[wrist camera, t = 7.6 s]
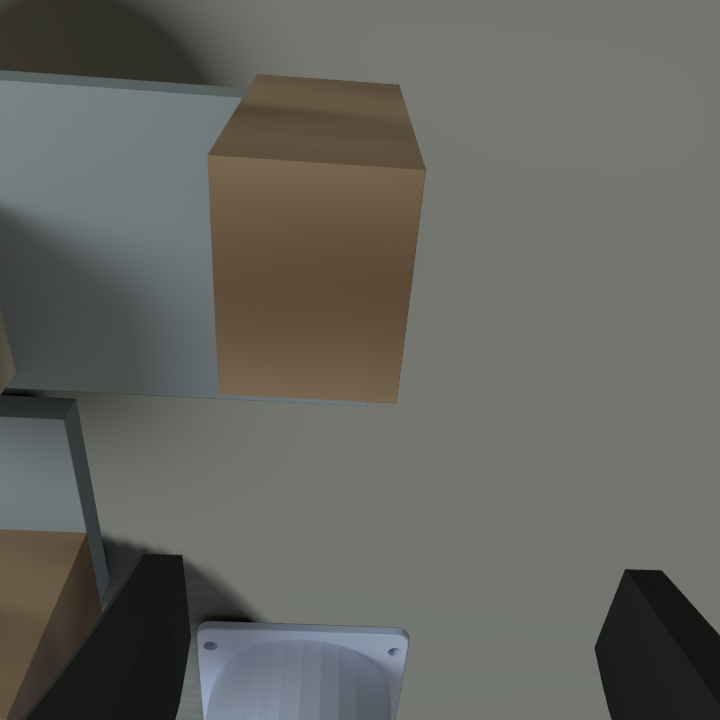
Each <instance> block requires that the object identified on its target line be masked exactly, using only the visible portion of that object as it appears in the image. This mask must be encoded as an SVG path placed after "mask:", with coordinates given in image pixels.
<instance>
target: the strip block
mask: <svg viewBox="0 0 720 720" xmlns="http://www.w3.org/2000/svg"><path fill="white" fill-rule="evenodd" d="M425 173H426V170H425V166H424V163H423V160H422V157H421V153H420V150H419V147H418V144H417V141H416V138H415V135H414V131H413V128H412V125H411V121H410V118H409V115H408V112H407V109H406V106H405V102H404V99H403V96H402V93H401V90H400V86H399V85H394V84H381V83H367V82H354V81H341V80H328V79H315V78H302V77H288V76H274V75H262V74H257V75H256V77H255V79H254V80H253V82H252V84H251V85H250V87H249V88H235V87H221V86H207V85H194V84H181V83H167V82H154V81H139V80H126V79H113V78H99V77H86V76H72V75H58V74H45V73H32V72H18V71H3V70H0V307H1V311H2V315H3V320H4V324H5V328H6V332H7V336H8V341H9V345H10V349H11V353H12V357H13V362H14V366H15V370H16V375H15V376H14V377H13V379H12V380H11V381H10V383H9V384H8V385H7V387H6V388H15V389H34V390H54V391H74V392H93V393H114V394H133V395H152V396H173V397H192V398H211V399H232V400H250V401H271V402H291V403H310V404H329V405H349V406H368V402H379V403H380V402H381V403H396V402H397V395H398V387H399V379H400V371H401V363H402V355H403V347H404V340H405V332H406V324H407V315H408V308H409V300H410V292H411V284H412V276H413V268H414V259H415V252H416V243H417V235H418V228H419V220H420V213H421V205H422V196H423V189H424V181H425Z"/></svg>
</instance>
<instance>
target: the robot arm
mask: <svg viewBox="0 0 720 720" xmlns="http://www.w3.org/2000/svg"><path fill="white" fill-rule="evenodd" d="M190 640H191V633H190V624H189V614H188V605H187V595H186V586H185V577H184V567H183V558H182V555H159V554H143V555H142V556H140V557H139V558H138V559H137V560H136V562H135V563H134V565H133V567H132V568H131V570H130V572H129V573H128V575H127V576H126V578H125V579H124V581H123V583H122V584H121V586H120V587H119V589H118V590H117V592H116V593H115V595H114V597H113V598H112V600H111V601H110V603H109V604H108V605H107V607H106V608H105V610H104V611H103V613H102V614H101V616H100V617H99V619H98V620H97V621H96V623H95V624H94V626H93V627H92V629H91V630H90V632H89V633H88V634H87V636H86V637H85V638H84V640H83V641H82V642H81V644H80V645H79V646H78V648H77V649H76V651H75V652H74V653H73V655H72V656H71V657H70V659H69V660H68V661H67V663H66V664H65V665H64V667H63V668H62V669H61V671H60V672H59V674H58V675H57V676H56V678H55V679H54V680H53V681H52V683H51V684H50V685H49V687H48V688H47V689H46V690H45V692H44V693H43V694H42V695H41V697H40V698H39V699H38V700H37V701H36V703H35V704H34V705H33V706H32V708H31V709H30V710H29V711H28V713H27V714H26V715H25V716H24V717H23V719H22V720H175V719H176V715H177V711H178V708H179V704H180V699H181V693H182V688H183V682H184V676H185V670H186V664H187V658H188V652H189V646H190ZM197 646H198V657H199V669H200V680H201V691H202V702H203V714H204V720H396V714H397V708H398V703H399V697H400V691H401V686H402V681H403V675H404V670H405V664H406V659H407V653H408V648H409V635H408V632H407V631H406V630H404V629H402V628H397V627H370V626H369V627H368V626H341V625H340V626H339V625H310V624H282V623H280V624H279V623H254V622H225V621H206V622H204V623H202V624H201V625H200V626H199V628H198V632H197ZM595 652H596V657H597V661H598V666H599V671H600V675H601V680H602V684H603V689H604V693H605V697H606V701H607V705H608V709H609V713H610V716H611V719H612V720H720V635H719V634H718V633H717V632H716V631H715V630H714V629H713V627H712V626H711V625H710V624H709V623H708V622H707V621H706V620H705V619H704V617H703V616H702V615H701V614H700V613H699V612H698V611H697V609H696V608H695V607H694V606H693V605H692V604H691V603H690V602H689V601H688V599H687V598H686V597H685V596H684V595H683V594H682V593H681V591H680V590H678V588H677V587H676V586H675V585H674V584H673V583H672V581H671V580H670V579H669V578H668V577H667V576H666V575H665V574H664V573H663V572H662V571H661V570H660V571H659V570H630V569H625V571H624V574H623V576H622V579H621V581H620V584H619V586H618V589H617V592H616V594H615V597H614V599H613V602H612V604H611V607H610V609H609V612H608V615H607V617H606V620H605V622H604V625H603V627H602V630H601V632H600V635H599V637H598V640H597V643H596V645H595Z"/></svg>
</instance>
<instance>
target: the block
mask: <svg viewBox="0 0 720 720" xmlns="http://www.w3.org/2000/svg"><path fill="white" fill-rule="evenodd" d="M15 375H16V370H15V366H14V362H13V357H12V353H11V349H10V345H9V341H8V336H7V332H6V328H5V324H4V320H3V315H2V311H1V307H0V395H1V393H2V392H3V391H4V389H5V388H6V387H7V385H8V384H9V383H10V381H11V380H12V379H13V377H14V376H15Z"/></svg>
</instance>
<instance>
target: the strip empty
mask: <svg viewBox="0 0 720 720" xmlns="http://www.w3.org/2000/svg"><path fill="white" fill-rule="evenodd" d="M109 581H110V580H109V575H108V570H107V564H106V559H105V553H104V548H103V543H102V537H101V532H100V526H99V521H98V516H97V510H96V505H95V500H94V494H93V489H92V483H91V478H90V472H89V467H88V462H87V456H86V451H85V445H84V440H83V435H82V430H81V424H80V419H79V413H78V408H77V403H76V399H67V398H66V399H65V398H47V397H27V396H8V395H0V720H22V719H23V717H24V716H25V715H26V714H27V713H28V711H29V710H30V709H31V708H32V706H33V705H34V704H35V703H36V701H37V700H38V699H39V698H40V697H41V695H42V694H43V693H44V692H45V690H46V689H47V688H48V687H49V685H50V684H51V683H52V681H53V680H54V679H55V678H56V676H57V675H58V674H59V672H60V671H61V669H62V668H63V667H64V665H65V664H66V663H67V661H68V660H69V659H70V657H71V656H72V655H73V653H74V652H75V651H76V649H77V648H78V646H79V645H80V644H81V642H82V641H83V640H84V638H85V637H86V636H87V634H88V633H89V632H90V630H91V629H92V627H93V626H94V624H95V623H96V621H97V620H98V619H99V617H100V616H101V614H102V613H103V612H102V607H101V603H102V600H103V598H104V595H105V592H106V590H107V587H108V584H109Z"/></svg>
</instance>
